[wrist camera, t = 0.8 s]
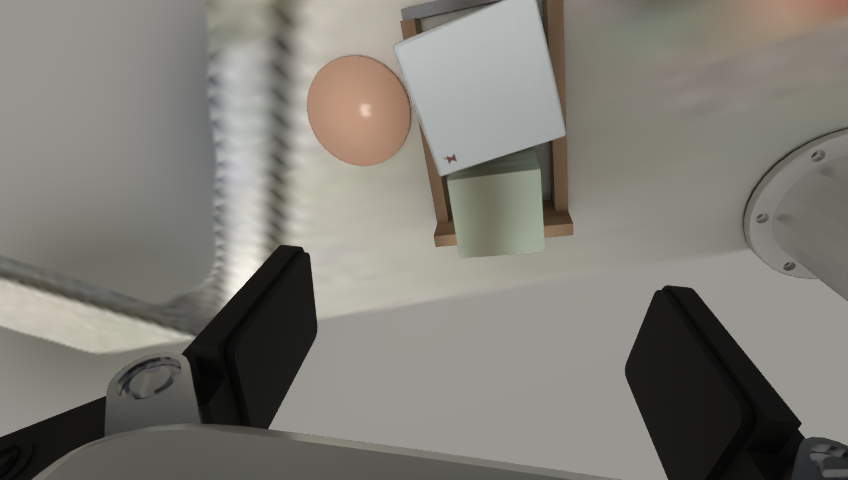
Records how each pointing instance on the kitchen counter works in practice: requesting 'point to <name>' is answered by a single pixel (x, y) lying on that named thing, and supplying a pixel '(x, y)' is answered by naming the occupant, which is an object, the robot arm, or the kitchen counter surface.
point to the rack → (500, 170)
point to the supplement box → (483, 85)
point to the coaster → (358, 110)
